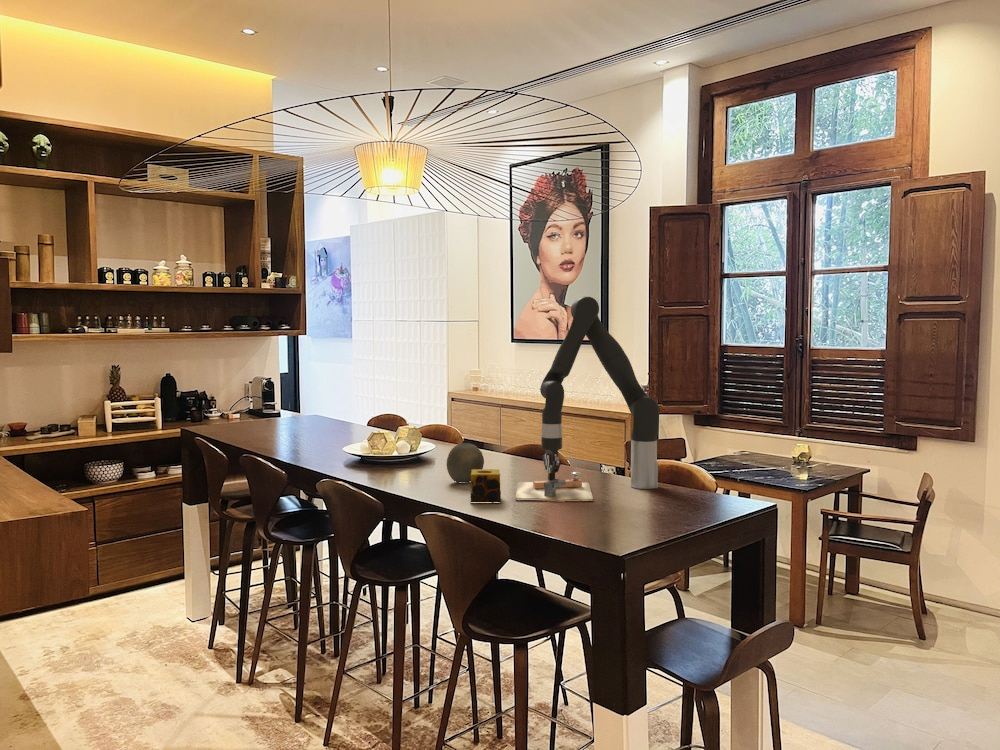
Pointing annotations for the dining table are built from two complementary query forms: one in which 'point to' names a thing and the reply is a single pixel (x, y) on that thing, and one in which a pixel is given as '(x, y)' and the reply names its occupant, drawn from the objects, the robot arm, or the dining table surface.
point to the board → (562, 493)
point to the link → (568, 484)
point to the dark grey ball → (464, 461)
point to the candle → (485, 485)
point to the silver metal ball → (575, 475)
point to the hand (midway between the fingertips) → (551, 483)
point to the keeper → (552, 487)
